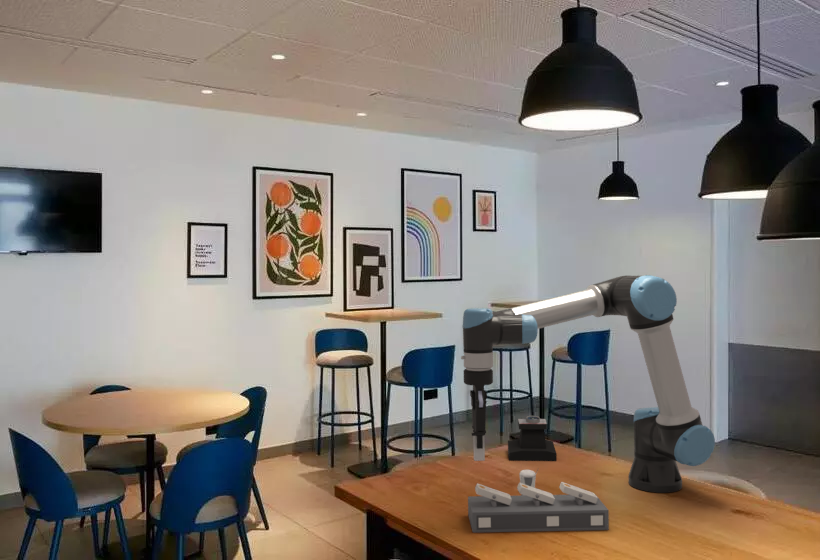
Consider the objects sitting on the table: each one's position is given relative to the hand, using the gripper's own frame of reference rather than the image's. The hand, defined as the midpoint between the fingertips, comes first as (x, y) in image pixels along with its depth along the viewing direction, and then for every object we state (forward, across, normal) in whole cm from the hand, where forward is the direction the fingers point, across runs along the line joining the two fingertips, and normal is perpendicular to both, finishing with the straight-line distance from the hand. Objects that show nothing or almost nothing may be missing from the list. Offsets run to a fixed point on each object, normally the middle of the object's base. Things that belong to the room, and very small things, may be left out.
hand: (479, 459), depth 176 cm
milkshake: (+17, -15, +16) cm, 27 cm away
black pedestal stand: (+17, -63, +25) cm, 70 cm away
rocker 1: (+9, 0, +4) cm, 10 cm away
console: (+16, 0, +14) cm, 22 cm away
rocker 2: (+9, 0, +26) cm, 27 cm away
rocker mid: (+9, 0, +14) cm, 17 cm away
